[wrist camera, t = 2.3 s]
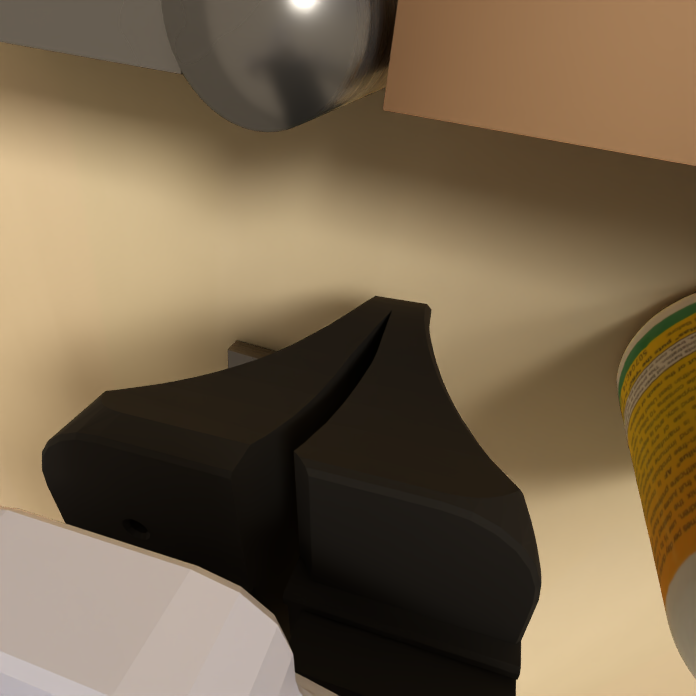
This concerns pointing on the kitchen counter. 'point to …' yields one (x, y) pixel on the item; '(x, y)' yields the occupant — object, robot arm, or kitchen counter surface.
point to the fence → (227, 48)
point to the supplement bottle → (666, 455)
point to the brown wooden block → (553, 70)
